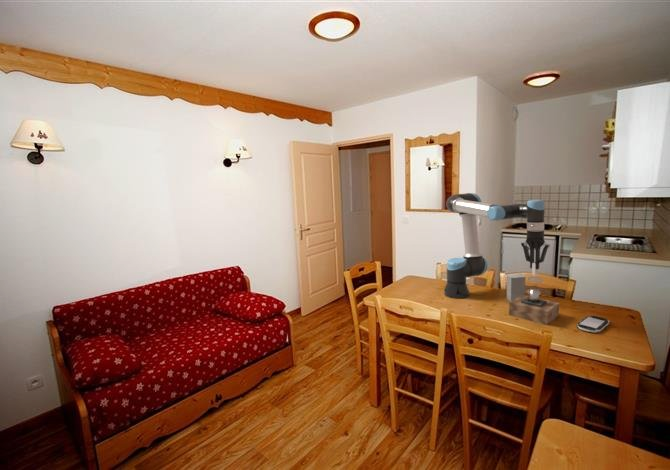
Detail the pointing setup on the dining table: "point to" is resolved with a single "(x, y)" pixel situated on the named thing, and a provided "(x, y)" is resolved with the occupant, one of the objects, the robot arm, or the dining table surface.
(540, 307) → the socket block
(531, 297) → the peg
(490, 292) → the dining table surface
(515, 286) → the skincare box
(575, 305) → the dining table surface
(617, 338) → the dining table surface
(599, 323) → the gaming console
